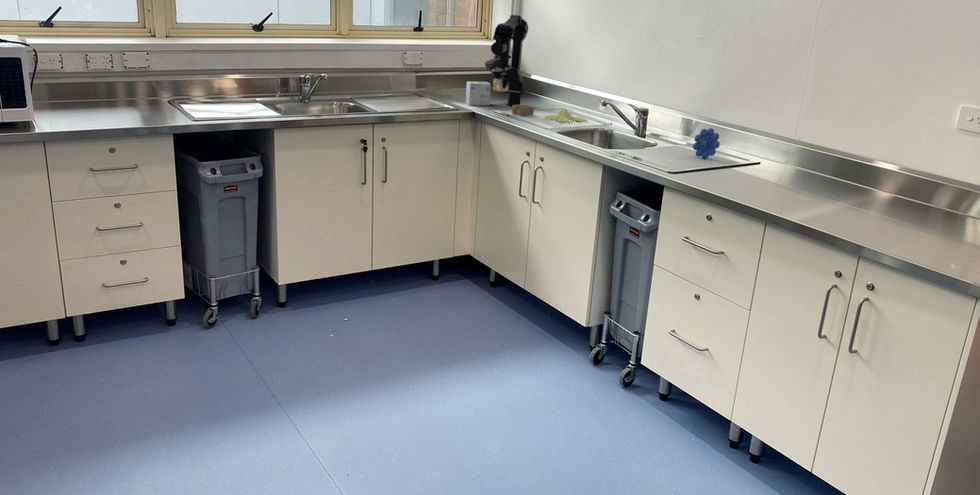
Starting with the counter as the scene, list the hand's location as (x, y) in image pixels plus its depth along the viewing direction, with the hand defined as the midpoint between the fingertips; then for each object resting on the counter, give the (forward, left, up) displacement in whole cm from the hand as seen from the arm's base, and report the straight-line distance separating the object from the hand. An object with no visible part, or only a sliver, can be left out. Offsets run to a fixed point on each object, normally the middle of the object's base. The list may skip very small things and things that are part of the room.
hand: (500, 87), depth 378 cm
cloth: (+21, +21, -13) cm, 32 cm away
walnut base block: (+6, +9, -12) cm, 16 cm away
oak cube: (0, 0, -1) cm, 1 cm away
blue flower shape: (+104, +26, -12) cm, 108 cm away
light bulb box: (-24, +3, -12) cm, 27 cm away
